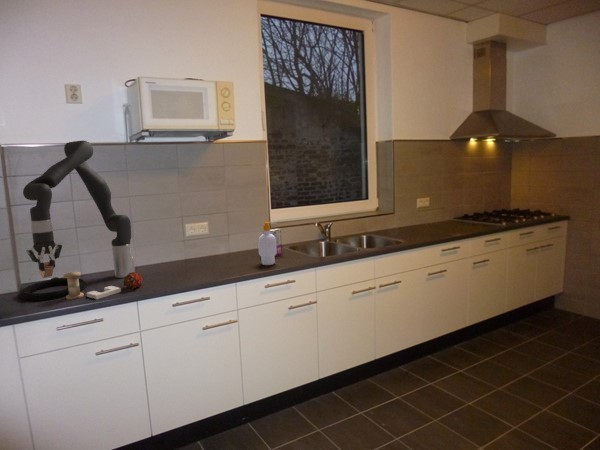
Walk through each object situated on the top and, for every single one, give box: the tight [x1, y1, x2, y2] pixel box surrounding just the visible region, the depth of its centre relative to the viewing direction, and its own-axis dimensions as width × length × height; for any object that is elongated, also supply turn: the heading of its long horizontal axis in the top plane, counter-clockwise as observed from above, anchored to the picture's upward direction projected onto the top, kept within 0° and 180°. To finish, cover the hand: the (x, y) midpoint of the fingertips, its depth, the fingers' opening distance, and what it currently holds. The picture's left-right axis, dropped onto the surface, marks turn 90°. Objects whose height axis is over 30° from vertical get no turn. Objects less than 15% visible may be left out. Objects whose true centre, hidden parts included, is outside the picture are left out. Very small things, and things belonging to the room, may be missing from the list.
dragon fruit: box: [123, 271, 144, 290], centre depth 196 cm, size 8×8×12 cm
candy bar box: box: [262, 228, 283, 257], centre depth 252 cm, size 11×5×16 cm, turn 132°
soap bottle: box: [257, 221, 277, 266], centre depth 231 cm, size 10×10×24 cm
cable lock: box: [18, 276, 87, 302], centre depth 195 cm, size 28×4×30 cm
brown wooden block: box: [38, 261, 55, 279], centre depth 175 cm, size 3×4×5 cm
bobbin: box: [63, 271, 85, 301], centre depth 184 cm, size 7×7×11 cm
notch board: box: [86, 285, 122, 300], centre depth 187 cm, size 12×8×2 cm, turn 147°
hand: (47, 269), depth 174 cm, fingers closed on brown wooden block, 3 cm apart
